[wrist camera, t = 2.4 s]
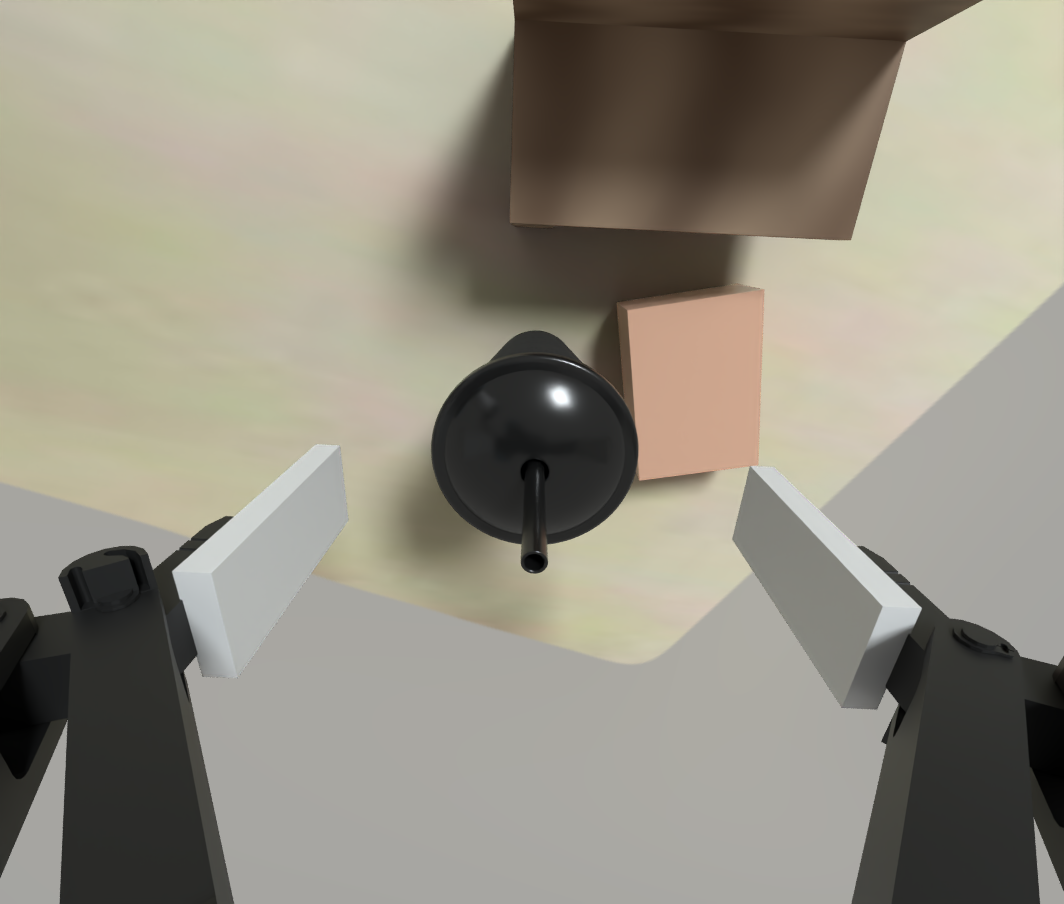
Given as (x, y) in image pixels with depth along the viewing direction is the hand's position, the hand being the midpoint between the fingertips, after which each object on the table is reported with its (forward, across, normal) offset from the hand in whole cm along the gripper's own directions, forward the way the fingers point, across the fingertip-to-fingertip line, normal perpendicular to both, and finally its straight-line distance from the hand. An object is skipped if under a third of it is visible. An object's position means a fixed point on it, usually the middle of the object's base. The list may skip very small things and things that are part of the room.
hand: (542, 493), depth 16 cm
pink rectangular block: (+16, +8, 0) cm, 18 cm away
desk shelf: (+16, +6, +12) cm, 21 cm away
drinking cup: (+16, 0, 0) cm, 16 cm away
